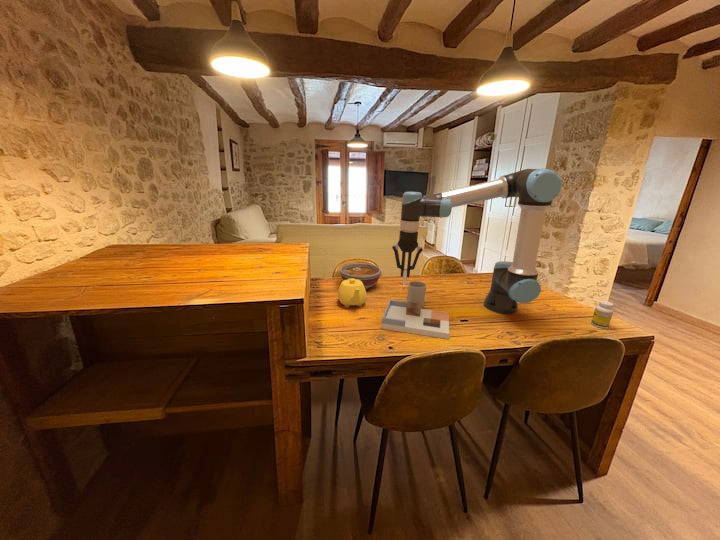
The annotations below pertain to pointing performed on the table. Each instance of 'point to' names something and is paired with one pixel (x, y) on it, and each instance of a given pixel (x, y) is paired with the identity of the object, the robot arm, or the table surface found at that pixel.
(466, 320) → the table surface
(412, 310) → the walnut block
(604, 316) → the pill bottle
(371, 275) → the bowl
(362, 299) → the teapot
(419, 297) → the mug
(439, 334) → the deck
